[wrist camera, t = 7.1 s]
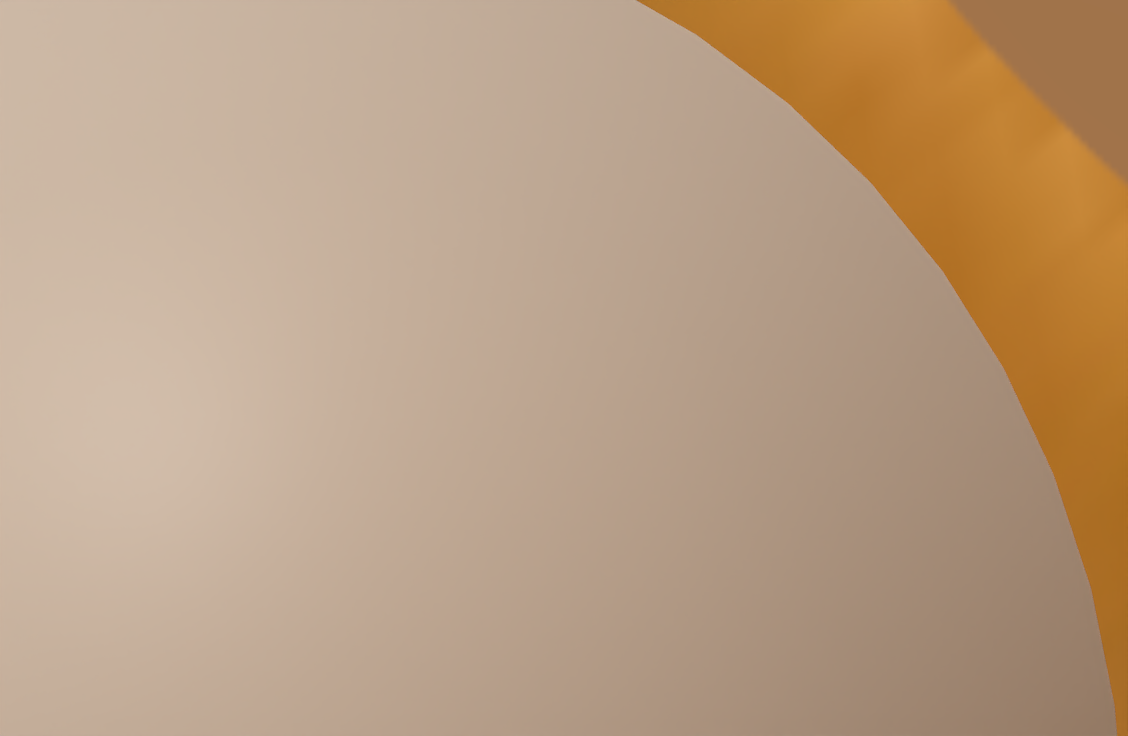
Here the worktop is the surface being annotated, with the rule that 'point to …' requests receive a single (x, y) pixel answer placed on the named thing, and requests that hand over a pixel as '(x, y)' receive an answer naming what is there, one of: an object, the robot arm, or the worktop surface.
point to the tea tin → (490, 396)
